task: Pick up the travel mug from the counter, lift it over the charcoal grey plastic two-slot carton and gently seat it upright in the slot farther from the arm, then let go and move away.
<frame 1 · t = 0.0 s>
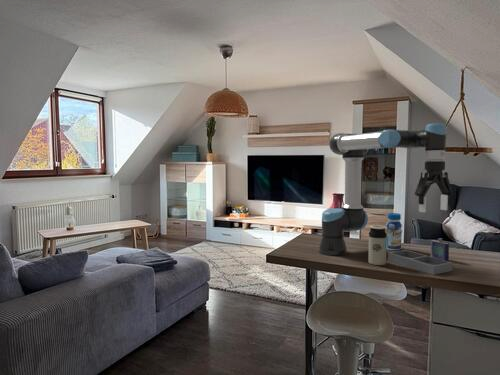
hand: (433, 211, 140), 28 cm above the breakfast bar, tool pointing down, fingers open, 13 cm apart
beverage bottle: (393, 249, 186), on the breakfast bar
travel mug: (377, 263, 160), on the breakfast bar
slot carton: (418, 265, 156), on the breakfast bar
flask: (439, 259, 165), on the breakfast bar
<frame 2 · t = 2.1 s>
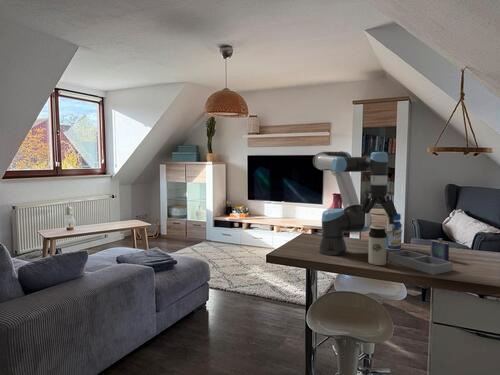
hand: (378, 228, 158), 17 cm above the breakfast bar, tool pointing down, fingers open, 13 cm apart
nothing on the breakfast bar moved.
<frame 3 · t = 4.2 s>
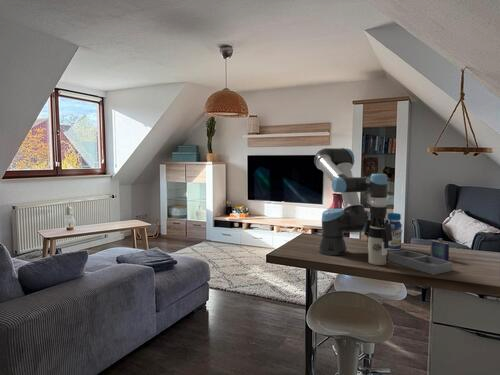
hand: (377, 252, 159), 5 cm above the breakfast bar, tool pointing down, fingers closed on travel mug, 8 cm apart
travel mug: (377, 263, 160), on the breakfast bar, touching gripper
everything else where it was.
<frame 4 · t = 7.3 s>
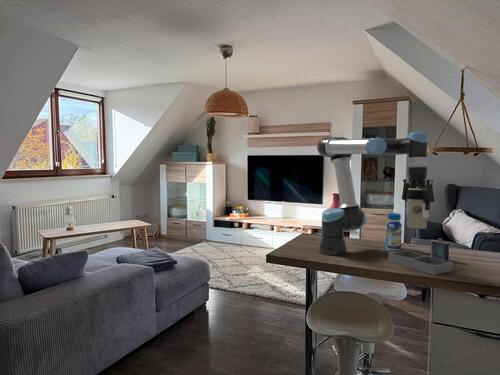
hand: (417, 216, 151), 24 cm above the breakfast bar, tool pointing down, fingers closed on travel mug, 8 cm apart
travel mug: (416, 228, 151), point 19 cm above the breakfast bar, touching gripper
everything else where it was.
when the fingers open (8 cm above the breakfast bar, at t = 10.7 s): travel mug drops 1 cm, resting on slot carton.
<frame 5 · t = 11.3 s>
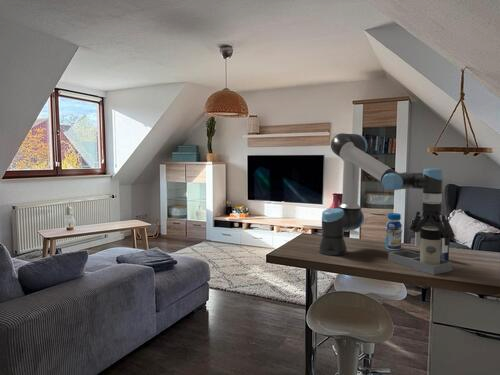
hand: (430, 249, 150), 9 cm above the breakfast bar, tool pointing down, fingers open, 13 cm apart
travel mug: (429, 267, 151), point 1 cm above the breakfast bar, touching slot carton
everything else where it was.
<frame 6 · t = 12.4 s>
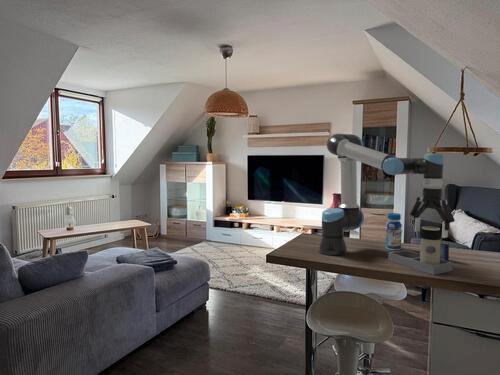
hand: (430, 234, 150), 16 cm above the breakfast bar, tool pointing down, fingers open, 13 cm apart
nothing on the breakfast bar moved.
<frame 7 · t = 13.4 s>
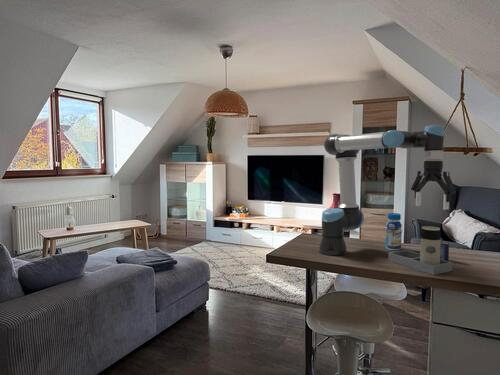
hand: (431, 207, 149), 28 cm above the breakfast bar, tool pointing down, fingers open, 13 cm apart
nothing on the breakfast bar moved.
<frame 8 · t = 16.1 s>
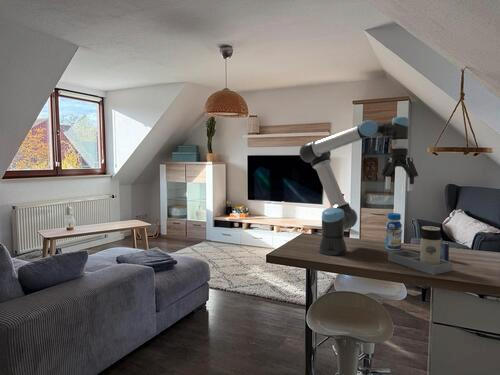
hand: (398, 189, 168), 35 cm above the breakfast bar, tool pointing down, fingers open, 13 cm apart
nothing on the breakfast bar moved.
at the end: travel mug 0.1 cm from the target spot on the slot carton, point 0.8 cm above the slot carton's base; travel mug tilted 0°; the gripper is holding nothing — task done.
